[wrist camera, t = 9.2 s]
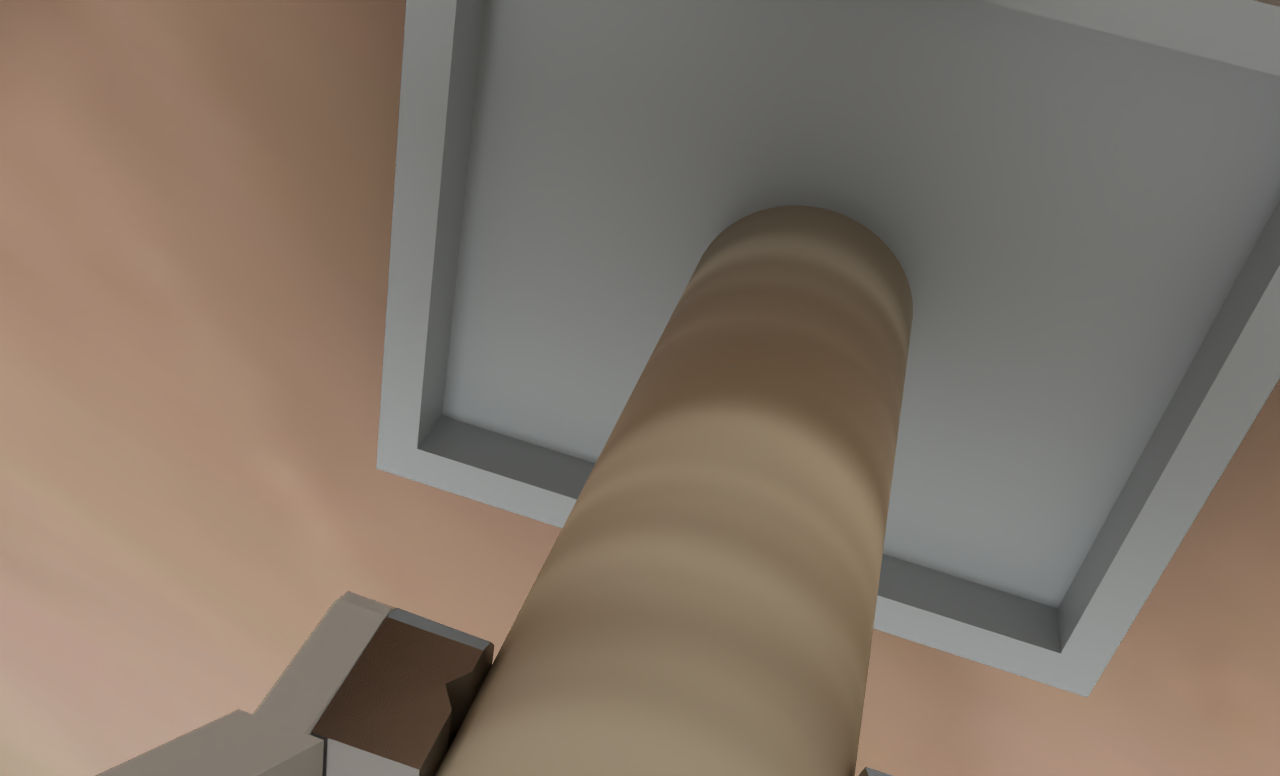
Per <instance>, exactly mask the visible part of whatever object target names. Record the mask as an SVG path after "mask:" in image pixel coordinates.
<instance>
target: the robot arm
mask: <svg viewBox="0 0 1280 776" xmlns="http://www.w3.org/2000/svg"><path fill="white" fill-rule="evenodd" d="M493 651H494V645H493V644H492V643H491V642H489V641H486V640H483V639H481V638H478V637H475V636H472V635H470V634H467V633H464V632H462V631H459V630H456V629H453V628H451V627H448V626H445V625H442V624H440V623H437V622H434V621H432V620H429V619H426V618H423V617H421V616H418V615H415V614H412V613H410V612H407V611H404V610H401V609H399V608H395V607H392V606H389V605H386V604H383V603H381V602H378V601H375V600H372V599H369V598H366V597H364V596H361V595H358V594H355V593H352V592H350V591H348V592H347V593H345V594H344V595H342V596H341V597H340V598H338V599H337V600H336V601H334V603H333V604H332V605H331V607H330V608H329V610H328V611H327V612H326V614H325V615H324V617H323V618H322V619H321V621H320V622H319V623H318V625H317V626H316V628H315V629H314V630H313V632H312V633H311V635H310V636H309V637H308V639H307V640H306V641H305V643H304V644H303V646H302V647H301V648H300V650H299V651H298V652H297V654H296V655H295V657H294V658H293V659H292V661H291V662H290V664H289V665H288V666H287V668H286V669H285V670H284V672H283V673H282V675H281V676H280V677H279V679H278V680H277V682H276V683H275V684H274V686H273V687H272V688H271V690H270V691H269V693H268V694H267V695H266V697H265V698H264V699H263V701H262V702H261V704H260V705H259V706H258V708H257V709H256V711H255V712H254V713H253V714H251V713H248V712H245V711H242V710H239V709H238V710H236V711H234V712H232V713H230V714H227V715H225V716H223V717H221V718H219V719H217V720H214V721H212V722H210V723H208V724H206V725H204V726H202V727H199V728H197V729H195V730H193V731H191V732H189V733H186V734H184V735H182V736H180V737H178V738H176V739H173V740H171V741H169V742H167V743H165V744H163V745H160V746H158V747H156V748H154V749H152V750H150V751H148V752H145V753H143V754H141V755H139V756H137V757H135V758H132V759H130V760H128V761H126V762H124V763H122V764H119V765H117V766H115V767H113V768H111V769H109V770H106V771H104V772H102V773H100V774H98V775H96V776H436V774H437V772H438V770H439V768H440V766H441V764H442V762H443V760H444V758H445V756H446V754H447V752H448V750H449V748H450V746H451V744H452V743H453V741H454V739H455V737H456V735H457V733H458V731H459V729H460V727H461V725H462V723H463V721H464V719H465V717H466V715H467V713H468V711H469V709H470V707H471V705H472V704H473V702H474V700H475V698H476V696H477V694H478V692H479V690H480V688H481V686H482V684H483V682H484V680H485V678H486V676H487V674H488V672H489V670H490V668H491V666H492V660H493ZM859 776H892V775H889V774H886V773H883V772H880V771H877V770H874V769H871V768H867V767H865V769H864V770H863V771H862V772H861V773H860V775H859Z"/></svg>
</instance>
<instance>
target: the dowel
mask: <svg viewBox="0 0 1280 776" xmlns="http://www.w3.org/2000/svg"><path fill="white" fill-rule="evenodd" d="M912 319H913V301H912V295H911V289H910V286H909V283H908V280H907V277H906V274H905V272H904V270H903V268H902V266H901V264H900V262H899V261H898V260H897V258H896V257H895V255H894V254H893V252H892V251H891V250H890V249H889V247H888V246H887V245H886V244H885V243H884V242H883V241H882V240H881V239H880V238H879V237H878V236H877V235H875V234H874V233H873V232H872V231H871V230H869V229H868V228H866V227H865V226H863V225H862V224H860V223H859V222H857V221H855V220H853V219H851V218H849V217H847V216H845V215H842V214H840V213H837V212H834V211H831V210H827V209H823V208H818V207H812V206H801V205H793V206H779V207H773V208H768V209H764V210H761V211H758V212H754V213H752V214H750V215H748V216H745V217H743V218H741V219H739V220H738V221H736V222H735V223H733V224H731V225H730V226H728V227H727V228H726V229H725V230H724V231H722V232H721V233H720V234H719V235H718V236H717V237H716V238H715V239H714V240H713V241H712V242H711V244H710V245H709V246H708V248H707V249H706V251H705V252H704V254H703V255H702V257H701V259H700V261H699V263H698V265H697V267H696V269H695V271H694V273H693V275H692V277H691V278H690V280H689V282H688V284H687V286H686V288H685V290H684V292H683V294H682V296H681V298H680V300H679V302H678V304H677V306H676V308H675V310H674V312H673V314H672V316H671V317H670V319H669V321H668V323H667V325H666V327H665V329H664V331H663V333H662V335H661V337H660V339H659V341H658V343H657V345H656V347H655V349H654V351H653V353H652V355H651V356H650V358H649V360H648V362H647V364H646V366H645V368H644V370H643V372H642V374H641V376H640V378H639V380H638V382H637V384H636V386H635V388H634V390H633V392H632V394H631V395H630V397H629V399H628V401H627V403H626V405H625V407H624V409H623V411H622V413H621V415H620V417H619V419H618V421H617V423H616V425H615V427H614V429H613V431H612V433H611V434H610V436H609V438H608V440H607V442H606V444H605V446H604V448H603V450H602V452H601V454H600V456H599V458H598V460H597V462H596V464H595V466H594V468H593V470H592V472H591V473H590V475H589V477H588V479H587V481H586V483H585V485H584V487H583V489H582V491H581V493H580V495H579V497H578V499H577V501H576V503H575V505H574V507H573V509H572V511H571V512H570V514H569V516H568V518H567V520H566V522H565V524H564V526H563V528H562V530H561V532H560V534H559V536H558V538H557V540H556V542H555V544H554V546H553V548H552V550H551V551H550V553H549V555H548V557H547V559H546V561H545V563H544V565H543V567H542V569H541V571H540V573H539V575H538V577H537V579H536V581H535V583H534V585H533V587H532V588H531V590H530V592H529V594H528V596H527V598H526V600H525V602H524V604H523V606H522V608H521V610H520V612H519V614H518V616H517V618H516V620H515V622H514V624H513V626H512V627H511V629H510V631H509V633H508V635H507V637H506V639H505V641H504V643H503V645H502V647H501V649H500V651H499V653H498V655H497V657H496V659H495V661H494V663H493V665H492V666H491V668H490V670H489V672H488V674H487V676H486V678H485V680H484V682H483V684H482V686H481V688H480V690H479V692H478V694H477V696H476V698H475V700H474V702H473V704H472V705H471V707H470V709H469V711H468V713H467V715H466V717H465V719H464V721H463V723H462V725H461V727H460V729H459V731H458V733H457V735H456V737H455V739H454V741H453V743H452V744H451V746H450V748H449V750H448V752H447V754H446V756H445V758H444V760H443V762H442V764H441V766H440V768H439V770H438V772H437V774H436V776H854V775H855V767H856V760H857V752H858V744H859V736H860V728H861V720H862V712H863V705H864V697H865V689H866V681H867V673H868V665H869V657H870V650H871V642H872V634H873V626H874V618H875V610H876V602H877V595H878V587H879V579H880V571H881V563H882V555H883V547H884V540H885V532H886V524H887V516H888V508H889V500H890V492H891V484H892V477H893V469H894V461H895V453H896V445H897V437H898V429H899V422H900V414H901V406H902V398H903V390H904V382H905V374H906V367H907V359H908V351H909V343H910V335H911V327H912Z"/></svg>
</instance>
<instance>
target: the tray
mask: <svg viewBox="0 0 1280 776" xmlns="http://www.w3.org/2000/svg"><path fill="white" fill-rule="evenodd" d="M793 205H801V206H812V207H818V208H823V209H827V210H831V211H834V212H837V213H840V214H842V215H845V216H847V217H849V218H851V219H853V220H855V221H857V222H859V223H860V224H862V225H863V226H865V227H866V228H868V229H869V230H871V231H872V232H873V233H874V234H875V235H877V236H878V237H879V238H880V239H881V240H882V241H883V242H884V243H885V244H886V245H887V246H888V247H889V249H890V250H891V251H892V252H893V254H894V255H895V257H896V258H897V260H898V261H899V262H900V264H901V266H902V268H903V270H904V272H905V274H906V277H907V280H908V283H909V286H910V289H911V295H912V301H913V319H912V327H911V335H910V343H909V351H908V359H907V367H906V374H905V382H904V390H903V398H902V406H901V414H900V422H899V429H898V437H897V445H896V453H895V461H894V469H893V477H892V484H891V492H890V500H889V508H888V516H887V524H886V532H885V540H884V547H883V555H882V563H881V571H880V579H879V587H878V595H877V602H876V610H875V618H874V626H873V629H876V630H879V631H883V632H886V633H889V634H892V635H895V636H898V637H901V638H904V639H907V640H911V641H914V642H917V643H920V644H923V645H926V646H929V647H932V648H935V649H938V650H942V651H945V652H948V653H951V654H954V655H957V656H960V657H963V658H966V659H970V660H973V661H976V662H979V663H982V664H985V665H988V666H991V667H994V668H998V669H1001V670H1004V671H1007V672H1010V673H1013V674H1016V675H1019V676H1022V677H1025V678H1029V679H1032V680H1035V681H1038V682H1041V683H1044V684H1047V685H1050V686H1053V687H1057V688H1060V689H1063V690H1066V691H1069V692H1072V693H1075V694H1078V695H1081V696H1085V697H1088V696H1089V694H1090V692H1091V691H1092V689H1093V687H1094V686H1095V684H1096V682H1097V681H1098V679H1099V677H1100V676H1101V674H1102V672H1103V671H1104V669H1105V668H1106V666H1107V664H1108V663H1109V661H1110V659H1111V658H1112V656H1113V654H1114V653H1115V651H1116V649H1117V648H1118V646H1119V644H1120V643H1121V641H1122V639H1123V638H1124V636H1125V634H1126V633H1127V631H1128V629H1129V628H1130V626H1131V624H1132V623H1133V621H1134V619H1135V618H1136V616H1137V614H1138V613H1139V611H1140V609H1141V608H1142V606H1143V604H1144V603H1145V601H1146V599H1147V598H1148V596H1149V594H1150V593H1151V591H1152V589H1153V588H1154V586H1155V584H1156V583H1157V581H1158V579H1159V578H1160V576H1161V574H1162V573H1163V571H1164V569H1165V568H1166V566H1167V565H1168V563H1169V561H1170V560H1171V558H1172V556H1173V555H1174V553H1175V551H1176V550H1177V548H1178V546H1179V545H1180V543H1181V541H1182V540H1183V538H1184V536H1185V535H1186V533H1187V531H1188V530H1189V528H1190V526H1191V525H1192V523H1193V521H1194V520H1195V518H1196V516H1197V515H1198V513H1199V511H1200V510H1201V508H1202V506H1203V505H1204V503H1205V501H1206V500H1207V498H1208V496H1209V495H1210V493H1211V491H1212V490H1213V488H1214V486H1215V485H1216V483H1217V481H1218V480H1219V478H1220V476H1221V475H1222V473H1223V471H1224V470H1225V468H1226V466H1227V465H1228V463H1229V462H1230V460H1231V458H1232V457H1233V455H1234V453H1235V452H1236V450H1237V448H1238V447H1239V445H1240V443H1241V442H1242V440H1243V438H1244V437H1245V435H1246V433H1247V432H1248V430H1249V428H1250V427H1251V425H1252V423H1253V422H1254V420H1255V418H1256V417H1257V415H1258V413H1259V412H1260V410H1261V408H1262V407H1263V405H1264V403H1265V402H1266V400H1267V398H1268V397H1269V395H1270V393H1271V392H1272V390H1273V388H1274V387H1275V385H1276V383H1277V382H1278V380H1279V378H1280V0H406V12H405V28H404V44H403V59H402V75H401V91H400V106H399V122H398V138H397V153H396V169H395V185H394V200H393V216H392V232H391V248H390V263H389V279H388V295H387V310H386V326H385V342H384V357H383V373H382V389H381V405H380V420H379V436H378V452H377V467H376V469H379V470H382V471H385V472H389V473H392V474H395V475H398V476H401V477H404V478H407V479H410V480H413V481H417V482H420V483H423V484H426V485H429V486H432V487H435V488H438V489H441V490H445V491H448V492H451V493H454V494H457V495H460V496H463V497H466V498H469V499H472V500H476V501H479V502H482V503H485V504H488V505H491V506H494V507H497V508H500V509H504V510H507V511H510V512H513V513H516V514H519V515H522V516H525V517H528V518H531V519H535V520H538V521H541V522H544V523H547V524H550V525H553V526H556V527H559V528H563V526H564V524H565V522H566V520H567V518H568V516H569V514H570V512H571V511H572V509H573V507H574V505H575V503H576V501H577V499H578V497H579V495H580V493H581V491H582V489H583V487H584V485H585V483H586V481H587V479H588V477H589V475H590V473H591V472H592V470H593V468H594V466H595V464H596V462H597V460H598V458H599V456H600V454H601V452H602V450H603V448H604V446H605V444H606V442H607V440H608V438H609V436H610V434H611V433H612V431H613V429H614V427H615V425H616V423H617V421H618V419H619V417H620V415H621V413H622V411H623V409H624V407H625V405H626V403H627V401H628V399H629V397H630V395H631V394H632V392H633V390H634V388H635V386H636V384H637V382H638V380H639V378H640V376H641V374H642V372H643V370H644V368H645V366H646V364H647V362H648V360H649V358H650V356H651V355H652V353H653V351H654V349H655V347H656V345H657V343H658V341H659V339H660V337H661V335H662V333H663V331H664V329H665V327H666V325H667V323H668V321H669V319H670V317H671V316H672V314H673V312H674V310H675V308H676V306H677V304H678V302H679V300H680V298H681V296H682V294H683V292H684V290H685V288H686V286H687V284H688V282H689V280H690V278H691V277H692V275H693V273H694V271H695V269H696V267H697V265H698V263H699V261H700V259H701V257H702V255H703V254H704V252H705V251H706V249H707V248H708V246H709V245H710V244H711V242H712V241H713V240H714V239H715V238H716V237H717V236H718V235H719V234H720V233H721V232H722V231H724V230H725V229H726V228H727V227H728V226H730V225H731V224H733V223H735V222H736V221H738V220H739V219H741V218H743V217H745V216H748V215H750V214H752V213H754V212H758V211H761V210H764V209H768V208H773V207H779V206H793Z"/></svg>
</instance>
